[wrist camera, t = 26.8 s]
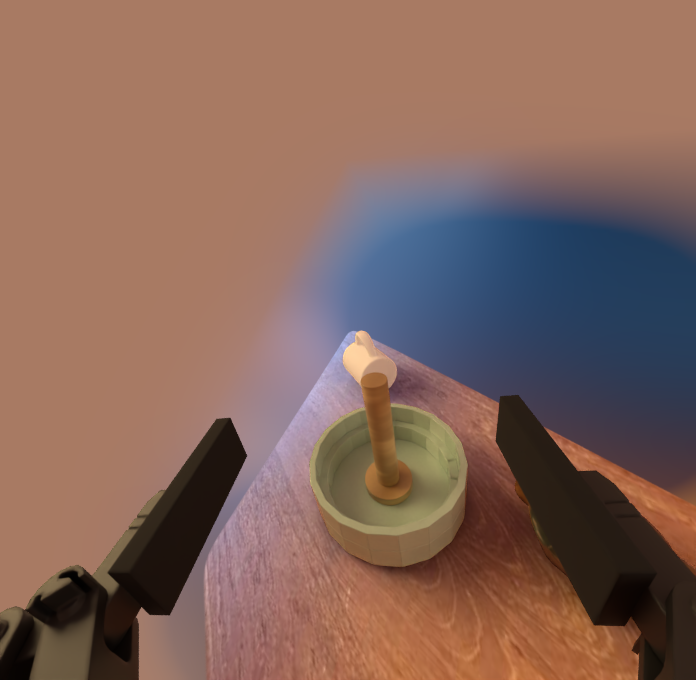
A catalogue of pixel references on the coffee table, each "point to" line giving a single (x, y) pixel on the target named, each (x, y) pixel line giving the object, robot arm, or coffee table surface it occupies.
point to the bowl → (401, 519)
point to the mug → (367, 359)
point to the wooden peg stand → (383, 445)
